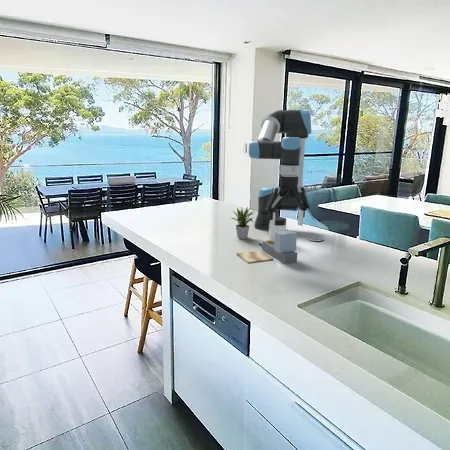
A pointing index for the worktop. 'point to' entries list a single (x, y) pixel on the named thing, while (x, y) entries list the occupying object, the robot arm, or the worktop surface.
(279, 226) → the jar
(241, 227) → the house plant
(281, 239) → the block
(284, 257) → the power strip
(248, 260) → the tan flat square block
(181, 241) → the worktop surface
